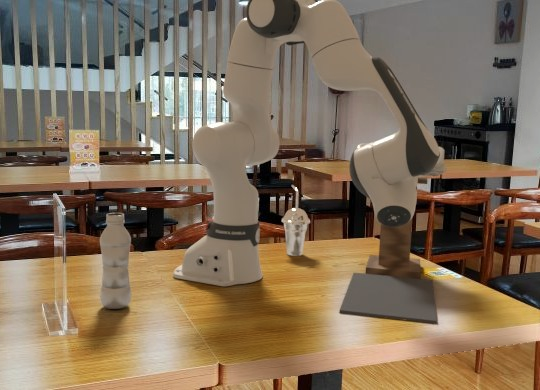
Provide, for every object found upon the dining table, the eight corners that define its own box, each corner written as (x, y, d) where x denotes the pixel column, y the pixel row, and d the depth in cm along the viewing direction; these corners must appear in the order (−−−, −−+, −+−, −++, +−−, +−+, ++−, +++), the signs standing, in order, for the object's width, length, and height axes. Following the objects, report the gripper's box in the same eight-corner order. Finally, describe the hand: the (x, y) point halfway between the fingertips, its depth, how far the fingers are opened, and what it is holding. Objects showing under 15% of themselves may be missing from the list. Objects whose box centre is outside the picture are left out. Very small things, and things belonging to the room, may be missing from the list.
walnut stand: (365, 274, 155) (371, 176, 151) (369, 261, 168) (374, 171, 164) (420, 280, 151) (427, 180, 147) (419, 266, 165) (426, 174, 161)
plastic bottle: (100, 313, 121) (98, 217, 117) (100, 302, 127) (99, 211, 124) (132, 311, 122) (131, 217, 119) (130, 301, 129) (130, 211, 126)
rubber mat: (339, 312, 126) (339, 310, 125) (353, 274, 154) (353, 272, 154) (436, 323, 121) (436, 320, 121) (432, 282, 150) (432, 280, 150)
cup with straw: (277, 256, 171) (279, 188, 168) (283, 249, 179) (286, 184, 176) (306, 258, 169) (309, 190, 166) (311, 251, 178) (314, 185, 175)
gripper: (447, 164, 129) (446, 130, 139) (353, 159, 134) (359, 127, 144) (444, 186, 133) (444, 152, 143) (353, 181, 138) (359, 148, 148)
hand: (401, 139), depth 144 cm, fingers closed on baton, 3 cm apart
